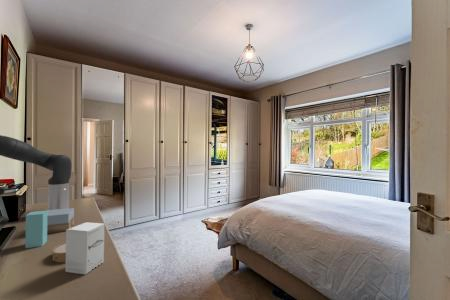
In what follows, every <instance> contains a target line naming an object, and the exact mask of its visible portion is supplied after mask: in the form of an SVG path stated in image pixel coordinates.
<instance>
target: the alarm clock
mask: <svg viewBox="0 0 450 300" xmlns="http://www.w3.org/2000/svg"><path fill="white" fill-rule="evenodd" d="M51 253H52V261H54V262H56V263H66V241H63V242H61V243H58V244H57V245H56V246H54V247H52V250H51Z"/></svg>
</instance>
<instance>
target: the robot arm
mask: <svg viewBox="0 0 450 300" xmlns="http://www.w3.org/2000/svg"><path fill="white" fill-rule="evenodd" d="M0 156H2V157H5V158H8V159H11V160H16V161H20V162H24V163H30V164H33V165H36V166H39V167H42V168H44V169H47V170H48V171H50V172H51V171H52V176H51V177H50V178H49V179H48V181H47V186H48V187H47V189H48V191H47V210H56V209H68V208H70V206H69V205H70V202H69V201H70V199H69V198H70V179H71V175H72V160H71V158H70V156H68V155H66V154H54V153H49V152H46V151H41V150H40V149H38V148H36V147H34V146H33V145H31V144H29V143H27V142H25V141H22V140H19V139H17V138H14V137H10V136H6V135H0ZM5 190H6V189H5V187H1V188H0V195H4V194H5V193H6V191H5Z"/></svg>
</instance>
